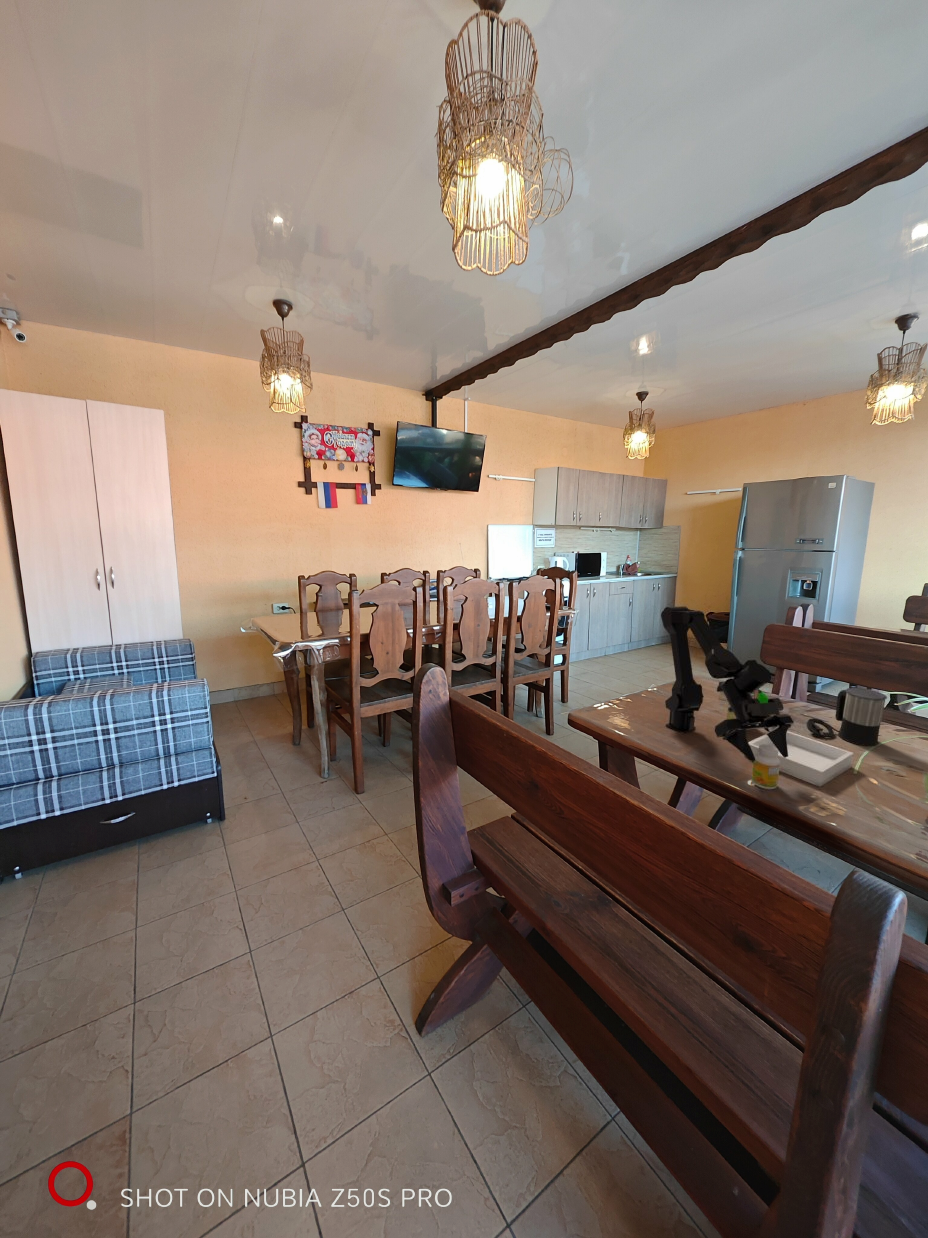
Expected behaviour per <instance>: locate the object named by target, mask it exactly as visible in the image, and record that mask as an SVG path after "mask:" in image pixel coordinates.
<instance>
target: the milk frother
mask: <svg viewBox="0 0 928 1238" xmlns="http://www.w3.org/2000/svg"><path fill="white" fill-rule="evenodd" d="M887 699H888V696H887V695H886V694H884V693H881V692H879V691H876V690H873V689H872V690H871V689H868V688H863V687H862V688H861V687H848V688H846V689H843V690H842V689H841V690H840V691H839V692H838V694H837V700H836V707H835V708H836V709H835V717H834V718H835V720H836V721H838V722H841V726H840V729H839V730H837V729H836V728H834V727H833V726H832V725H831V724H829V723H828V722H825V721H824V720H822V719H818V718H809V719H808V720H807V722H806V729H808V731H809V732H811V734H813V735H816V736H819V737H822V738H832V737H833V736H834V731H835V732H837V735H838V737H839V738H840V739H842V740H844V741H846V742H849V743H851V744H855V745H858V746H864V747H865V746H867V747H874V746H875V747H876V746H877V744H878V745H879V733H880V727H881V722H882V718H883V715H884V714H883V713H884V709H885V703H886V700H887ZM819 725H821V726H823V727H824V728H825V729H827V731H828V732H827V733H826V732H825V733H823V732H824V729H823V728H821V726H819Z"/></svg>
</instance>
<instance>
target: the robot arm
mask: <svg viewBox="0 0 928 1238" xmlns="http://www.w3.org/2000/svg"><path fill="white" fill-rule="evenodd" d="M660 618H661V621H662V626H663V628H664V629H665V631H666V632H667V633H668V634H669V637H670V645H671V651H672V659H673V660H672V661H673V666H674V674H675V681H674V683H673V685H672V688H671V695H670V697H668V698H667V699H666V700H664V701H665V702H664V704H665V708H666V709H668V710H669V717H668V718H669V720H668V723H666V724H665V727H667V726H668V728H670V729H672V730H675V731H676V732H677V731H678V732H680V733H682V734H685V733H688V732H690V731H693V730H696V726H695V720H696V717H695V712H699V711H700V708H701V706H702V704H703V702H704V701H703V700H704V696H705V695H704V693H703V685H702V684H701V683H698V682H697V681H695V679H694V674H693V668H692V666H693V665H692V660H691V654H690V653H691V652H690V651H691V650H690V645H689V638H688V632H689V630H690V631H691V633H692V635H693V637H694V638H695V640H696V642H697V643H698V644H699V647H700V648H701V650H702V651H703V654H704V656H705V661H704V665H705V667H706V669H707V672H708V674H709V676H710V677H711V678H713V679H715V680H716V679H717V680H720V679H721V680H722V679H726V680H725V681H718V686H717V687H716V692H717V693H722V692H723V694H724V696H725V698H726V700H727V703H728V702H729V704H730V706H731V707H730V708H728V707H727V709H728V710H729V712H733V713H734V715H735V717H736V719H727V720H726V719H724V720H723V721H721V722H719V723H718V724H716V725H715V726H714V733H715V735H716V737H717V738H722V740H723V741H727V742H728V743H729V744H731V746H733V747H735V748H736V749H737V750H738V751H739V752H741V754H743V755H744V757H745V756H746V757H745V758H747V759H749V761H751V762H754V761H755V757H754V754H753V752H752V749H751V747H750V745H749V743H748V742H749V741H748V739H747V731H749V730H758V729H759V730H760V729H764V731H766V732H767V733H766V734H767V736H768V737H769V738H770V740H771V741H772V742H773V744H774V745H775V747H776V748H777V749H778V751H779V752H780V753H781V754H782V756H783V757H784V758H786V757H788V750H787V742H786V733H787V731H789V730H790V729H791V728H792V725H794V724H795V722H794V720H793V718H792V716H791V715H789V714H787V713H780V712H781V711H784V709H785V708H784V704H783V702H782V701H781V699H780V698H779V697H773V698H769V699H768V703H760V701H759V700H758V699H753V697H752V695H751V693H752V692H755V691H756V690H758V689H759V690H760V689H761V688H762V687H763V686H765V685H766V684H768V683H770V681H771V680H772V674H771V671H770V670H769V669H768V668H767V667H765V666H764V665H762V664H760V663H758V662H757V660H756V659H747V661H745V663H744V664H743V663H742V662H741V661H740V660H739V659H738V658H737V657H736V655H734V653H733V652H731V651H730V650H728V649H726V648H725V647H724V646H723V645H722V644H721V642H720V640H719V639H718V637H717V636H716V634H715V631H713V629H712V627H711V626H710V624H709V622H708V621H707V620H706V617H705V614H704V612H703V611H702V610H697V609H690V608H688V607H687V606H685V605H683V606H665V608H663V611H661V613H660ZM770 716H771V717H770Z"/></svg>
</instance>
